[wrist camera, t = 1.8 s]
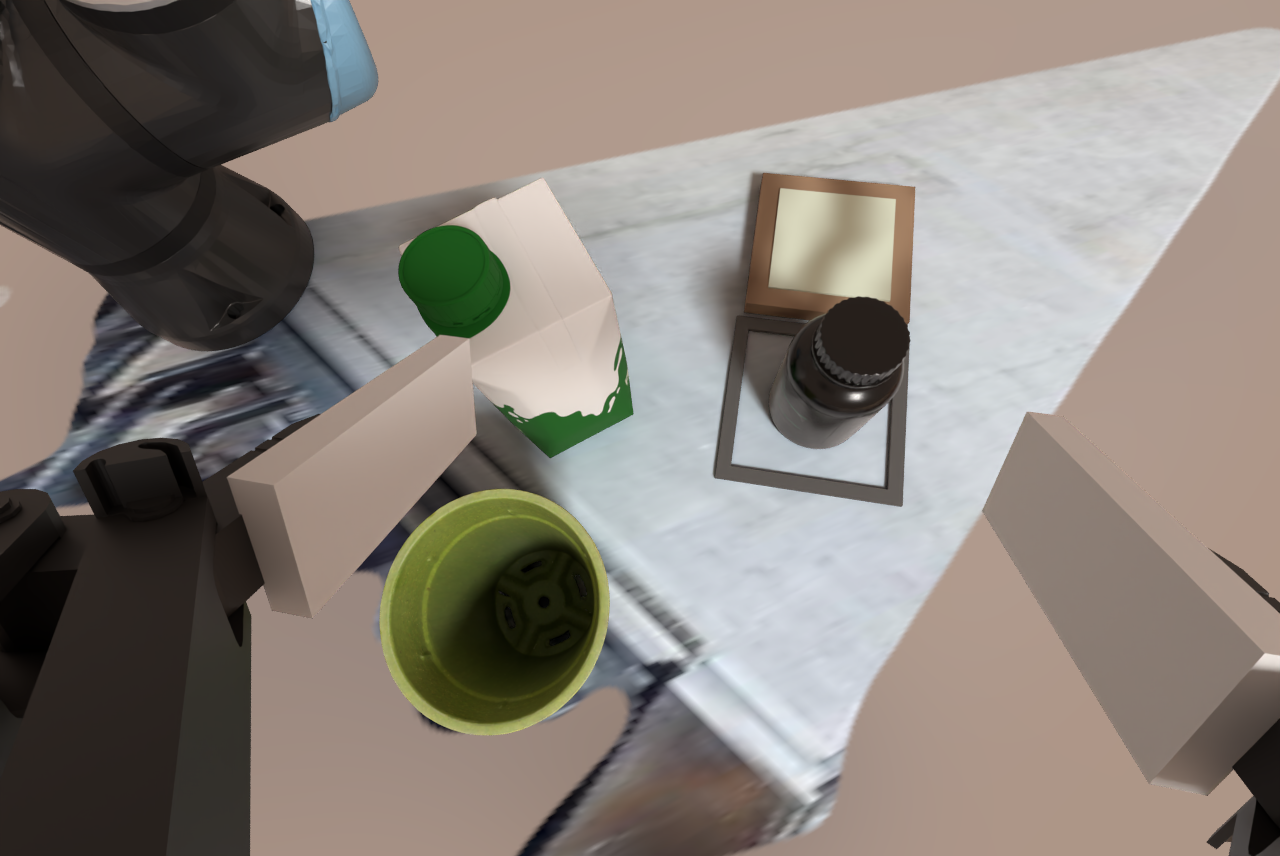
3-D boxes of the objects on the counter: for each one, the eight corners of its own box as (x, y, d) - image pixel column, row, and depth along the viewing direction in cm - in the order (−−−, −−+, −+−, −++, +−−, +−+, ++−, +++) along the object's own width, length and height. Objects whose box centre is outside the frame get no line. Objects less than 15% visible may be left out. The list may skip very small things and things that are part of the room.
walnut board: (744, 312, 44) (746, 301, 43) (760, 185, 47) (763, 171, 46) (901, 331, 43) (910, 321, 41) (907, 199, 46) (916, 185, 44)
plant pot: (537, 483, 41) (487, 444, 31) (663, 588, 39) (657, 586, 28) (425, 615, 39) (330, 622, 28) (551, 736, 37) (498, 794, 26)
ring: (714, 478, 41) (715, 477, 40) (736, 317, 44) (737, 315, 44) (900, 506, 39) (902, 505, 39) (908, 338, 43) (909, 336, 42)
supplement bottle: (849, 357, 43) (911, 270, 31) (871, 444, 41) (946, 384, 29) (759, 370, 43) (788, 288, 31) (776, 457, 41) (815, 403, 29)
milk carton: (497, 378, 44) (357, 213, 25) (599, 326, 45) (540, 126, 26) (544, 475, 42) (429, 373, 22) (652, 418, 42) (630, 272, 23)
